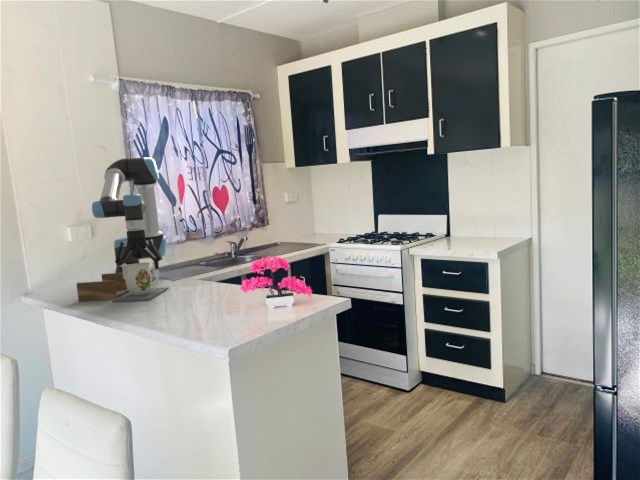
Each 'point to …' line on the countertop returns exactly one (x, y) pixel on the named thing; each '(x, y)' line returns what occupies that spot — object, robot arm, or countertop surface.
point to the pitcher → (139, 278)
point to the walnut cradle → (102, 288)
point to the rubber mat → (145, 297)
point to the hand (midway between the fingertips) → (140, 277)
